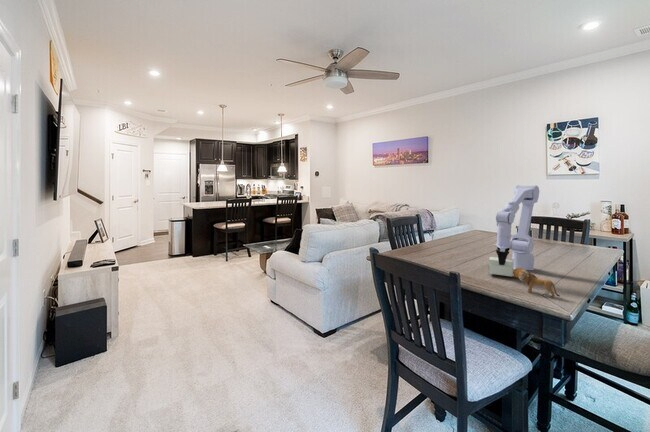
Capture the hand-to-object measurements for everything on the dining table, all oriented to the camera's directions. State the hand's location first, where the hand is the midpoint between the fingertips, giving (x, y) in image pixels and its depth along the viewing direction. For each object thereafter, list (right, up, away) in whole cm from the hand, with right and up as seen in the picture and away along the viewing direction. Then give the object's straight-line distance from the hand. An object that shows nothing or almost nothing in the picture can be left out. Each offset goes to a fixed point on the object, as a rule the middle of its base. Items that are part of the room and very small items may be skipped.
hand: (502, 263), depth 153 cm
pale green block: (0, -5, +1) cm, 5 cm away
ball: (+6, -4, -3) cm, 8 cm away
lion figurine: (+1, -9, -23) cm, 25 cm away
